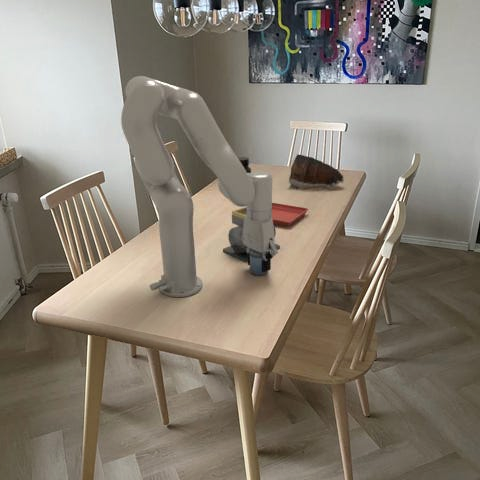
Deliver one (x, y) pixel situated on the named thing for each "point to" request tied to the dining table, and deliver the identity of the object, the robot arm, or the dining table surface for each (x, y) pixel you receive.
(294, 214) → the plant saucer
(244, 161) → the ink bottle
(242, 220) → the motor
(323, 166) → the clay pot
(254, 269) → the blue rounded cylinder
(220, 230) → the dining table surface
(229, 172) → the robot arm
